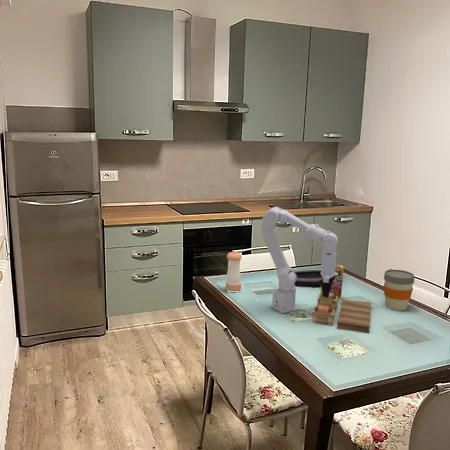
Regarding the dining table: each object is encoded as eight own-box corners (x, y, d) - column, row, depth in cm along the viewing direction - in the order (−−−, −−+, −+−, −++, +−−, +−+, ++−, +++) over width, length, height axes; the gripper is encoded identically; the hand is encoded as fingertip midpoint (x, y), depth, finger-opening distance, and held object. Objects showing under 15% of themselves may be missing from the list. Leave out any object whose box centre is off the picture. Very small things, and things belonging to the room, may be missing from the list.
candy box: (322, 299, 211) (325, 267, 208) (319, 296, 215) (321, 264, 212) (341, 298, 212) (344, 266, 209) (338, 295, 216) (340, 264, 213)
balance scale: (332, 325, 184) (333, 309, 182) (311, 322, 186) (312, 306, 185) (337, 305, 204) (338, 290, 203) (318, 303, 207) (319, 288, 205)
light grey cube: (331, 302, 199) (332, 296, 199) (322, 301, 201) (322, 295, 200) (332, 299, 203) (333, 293, 202) (323, 298, 204) (324, 292, 204)
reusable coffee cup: (378, 308, 202) (381, 275, 199) (383, 299, 213) (386, 267, 210) (409, 314, 197) (413, 280, 193) (412, 304, 207) (416, 272, 204)
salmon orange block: (327, 316, 185) (328, 309, 185) (317, 315, 186) (317, 308, 186) (328, 312, 189) (329, 305, 188) (318, 311, 190) (319, 304, 189)
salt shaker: (239, 293, 217) (240, 253, 213) (224, 291, 218) (225, 252, 214) (242, 287, 224) (243, 249, 220) (227, 286, 225) (228, 248, 221)
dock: (368, 332, 178) (369, 326, 177) (336, 328, 181) (337, 322, 181) (370, 308, 202) (370, 302, 201) (342, 304, 206) (342, 299, 205)
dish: (280, 278, 239) (280, 269, 238) (336, 276, 245) (336, 267, 244) (289, 289, 224) (290, 279, 223) (349, 286, 230) (349, 276, 229)
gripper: (337, 268, 183) (334, 301, 185) (340, 258, 196) (337, 289, 199) (319, 266, 185) (316, 298, 188) (323, 257, 198) (321, 287, 201)
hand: (326, 293), depth 193 cm, fingers open, 7 cm apart
